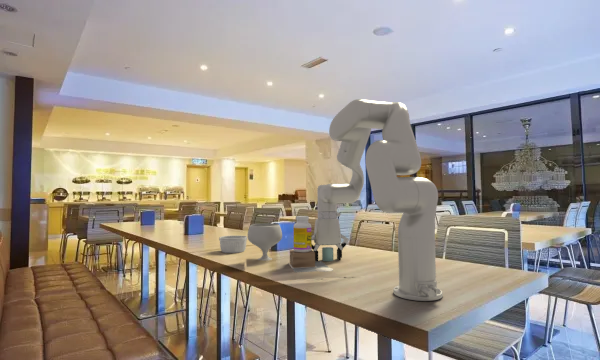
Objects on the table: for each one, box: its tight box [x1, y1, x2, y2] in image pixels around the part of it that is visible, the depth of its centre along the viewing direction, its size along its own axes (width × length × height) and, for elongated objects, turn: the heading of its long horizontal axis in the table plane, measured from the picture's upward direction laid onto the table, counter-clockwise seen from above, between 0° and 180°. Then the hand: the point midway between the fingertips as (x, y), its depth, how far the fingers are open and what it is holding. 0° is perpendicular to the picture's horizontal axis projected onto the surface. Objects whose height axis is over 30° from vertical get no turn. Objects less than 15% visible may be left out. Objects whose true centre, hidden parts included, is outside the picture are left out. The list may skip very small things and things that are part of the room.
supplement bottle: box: [293, 215, 313, 252], centre depth 129 cm, size 7×7×13 cm
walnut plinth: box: [289, 249, 316, 268], centre depth 129 cm, size 8×8×5 cm
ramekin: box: [218, 235, 248, 254], centre depth 169 cm, size 13×13×7 cm
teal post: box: [321, 246, 334, 262], centre depth 137 cm, size 4×4×6 cm
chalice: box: [247, 223, 283, 262], centre depth 141 cm, size 14×14×15 cm
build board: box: [288, 261, 334, 273], centre depth 125 cm, size 17×14×1 cm
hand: (327, 260), depth 137 cm, fingers open, 8 cm apart
